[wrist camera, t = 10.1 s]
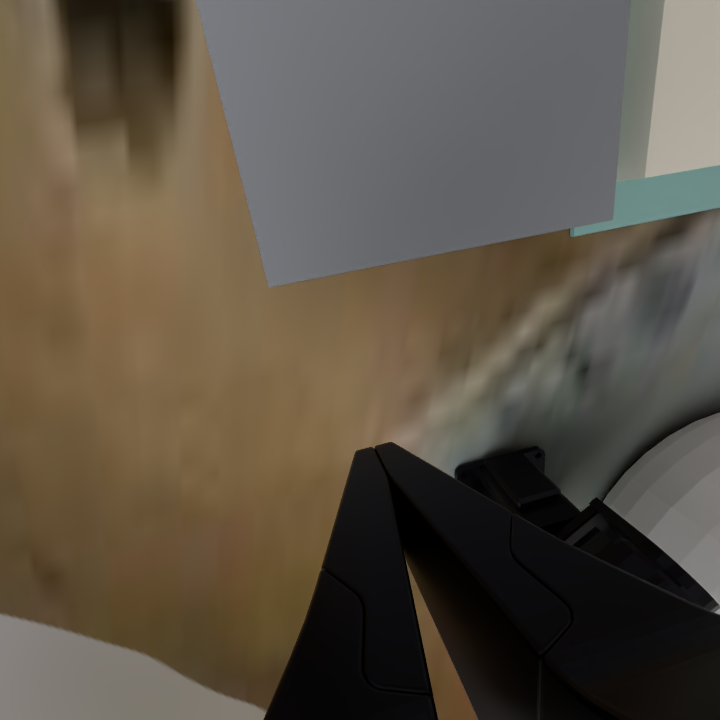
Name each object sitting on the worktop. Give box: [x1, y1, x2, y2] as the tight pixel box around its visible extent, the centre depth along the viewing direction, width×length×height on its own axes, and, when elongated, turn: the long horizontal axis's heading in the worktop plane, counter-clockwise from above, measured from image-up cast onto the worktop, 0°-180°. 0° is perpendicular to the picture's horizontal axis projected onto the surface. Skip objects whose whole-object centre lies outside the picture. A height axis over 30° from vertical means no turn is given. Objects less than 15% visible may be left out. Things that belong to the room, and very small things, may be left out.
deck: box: [196, 0, 631, 287], centre depth 16 cm, size 12×16×4 cm
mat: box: [570, 165, 720, 237], centre depth 20 cm, size 14×15×1 cm
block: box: [616, 0, 720, 182], centre depth 18 cm, size 9×6×2 cm, turn 9°
